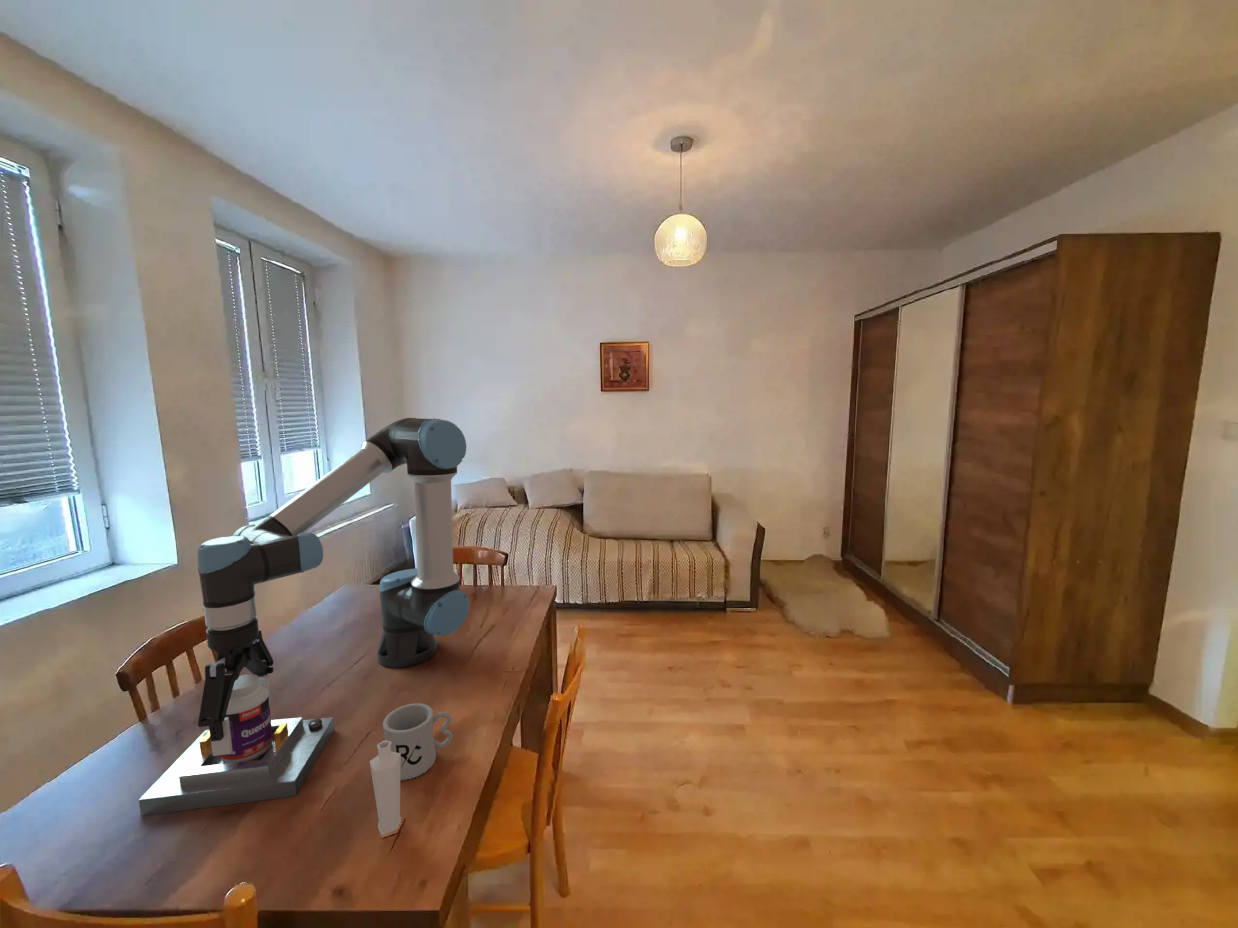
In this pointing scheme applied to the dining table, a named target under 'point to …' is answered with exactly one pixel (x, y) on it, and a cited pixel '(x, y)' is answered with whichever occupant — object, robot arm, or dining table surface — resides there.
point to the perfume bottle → (387, 787)
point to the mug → (414, 737)
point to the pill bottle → (248, 720)
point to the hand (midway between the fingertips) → (244, 728)
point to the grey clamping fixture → (240, 770)
